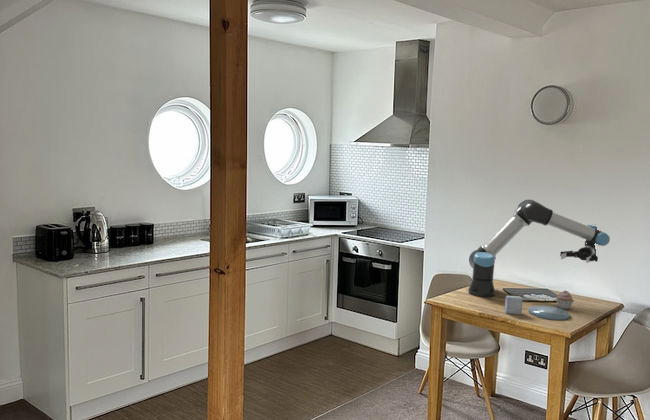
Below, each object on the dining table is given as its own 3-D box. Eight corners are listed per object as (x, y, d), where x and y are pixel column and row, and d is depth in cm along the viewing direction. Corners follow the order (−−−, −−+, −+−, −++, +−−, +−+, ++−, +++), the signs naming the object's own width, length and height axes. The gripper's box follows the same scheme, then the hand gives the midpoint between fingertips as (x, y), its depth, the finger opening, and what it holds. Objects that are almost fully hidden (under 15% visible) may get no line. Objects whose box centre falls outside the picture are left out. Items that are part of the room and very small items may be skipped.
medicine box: (519, 312, 318) (520, 296, 317) (521, 314, 314) (522, 298, 313) (504, 311, 319) (505, 295, 318) (506, 313, 315) (507, 297, 314)
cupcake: (551, 307, 331) (552, 289, 330) (560, 304, 336) (562, 287, 335) (567, 311, 323) (568, 293, 322) (576, 308, 329) (578, 291, 328)
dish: (534, 318, 308) (534, 315, 308) (524, 307, 328) (524, 304, 327) (574, 321, 306) (574, 317, 306) (562, 309, 326) (562, 306, 326)
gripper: (608, 262, 343) (597, 268, 326) (563, 256, 358) (551, 261, 342) (609, 250, 342) (598, 255, 325) (564, 243, 357) (552, 248, 341)
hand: (574, 258), depth 334 cm, fingers open, 13 cm apart
